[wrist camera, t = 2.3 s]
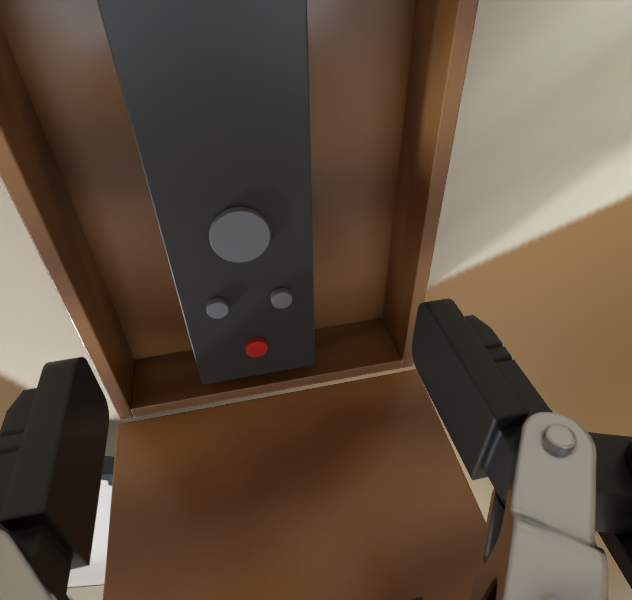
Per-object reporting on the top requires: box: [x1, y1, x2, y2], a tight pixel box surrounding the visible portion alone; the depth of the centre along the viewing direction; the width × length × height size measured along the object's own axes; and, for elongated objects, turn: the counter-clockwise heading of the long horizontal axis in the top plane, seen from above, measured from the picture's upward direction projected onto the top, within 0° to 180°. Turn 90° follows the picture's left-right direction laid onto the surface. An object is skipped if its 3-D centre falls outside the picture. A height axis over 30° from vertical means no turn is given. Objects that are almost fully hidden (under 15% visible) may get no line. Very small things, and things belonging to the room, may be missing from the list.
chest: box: [0, 0, 479, 419], centre depth 17 cm, size 18×14×4 cm
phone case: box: [67, 456, 115, 588], centre depth 32 cm, size 9×2×16 cm
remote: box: [97, 0, 316, 384], centre depth 17 cm, size 15×5×4 cm, turn 1°
